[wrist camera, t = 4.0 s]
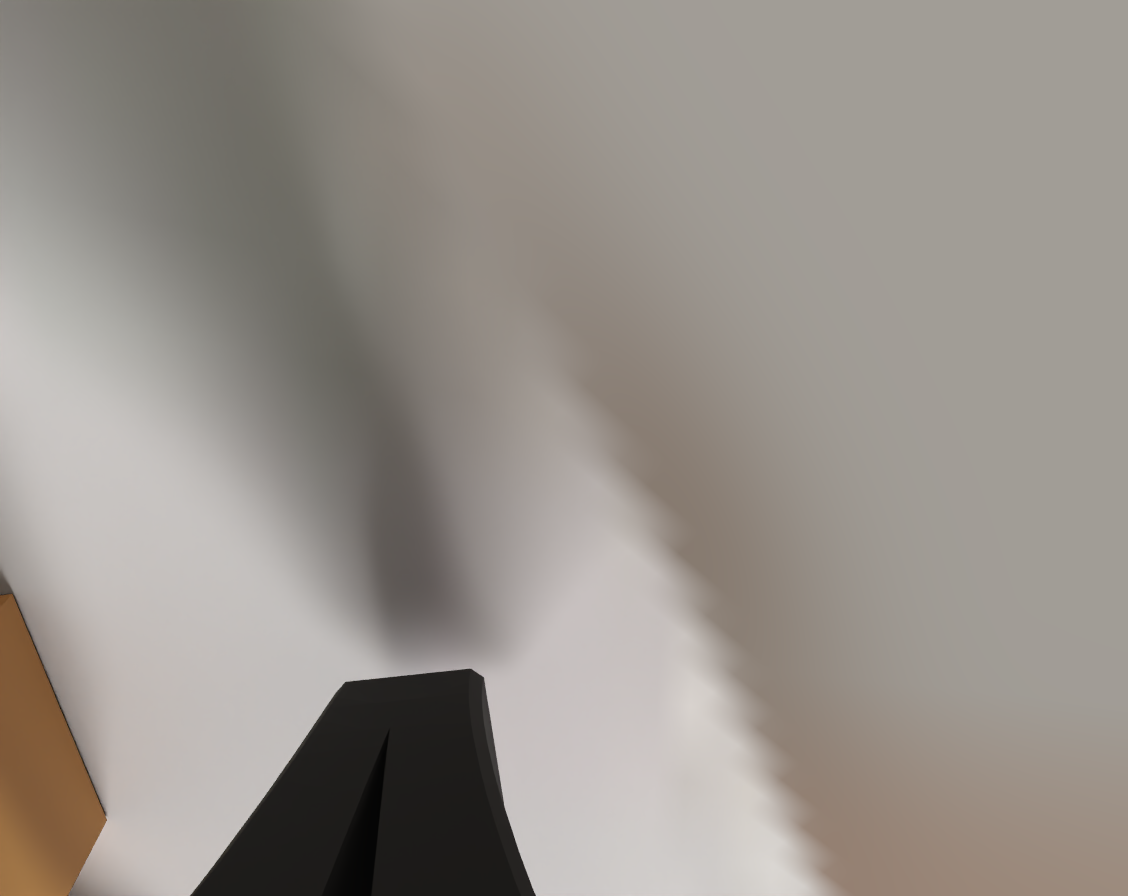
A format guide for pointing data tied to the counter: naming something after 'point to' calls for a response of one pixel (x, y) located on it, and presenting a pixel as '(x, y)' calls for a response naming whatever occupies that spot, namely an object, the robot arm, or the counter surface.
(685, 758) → the counter surface
